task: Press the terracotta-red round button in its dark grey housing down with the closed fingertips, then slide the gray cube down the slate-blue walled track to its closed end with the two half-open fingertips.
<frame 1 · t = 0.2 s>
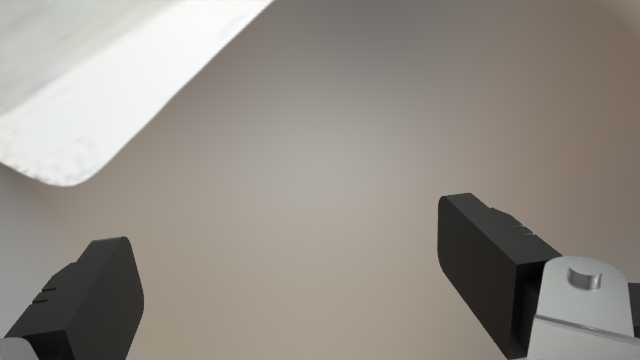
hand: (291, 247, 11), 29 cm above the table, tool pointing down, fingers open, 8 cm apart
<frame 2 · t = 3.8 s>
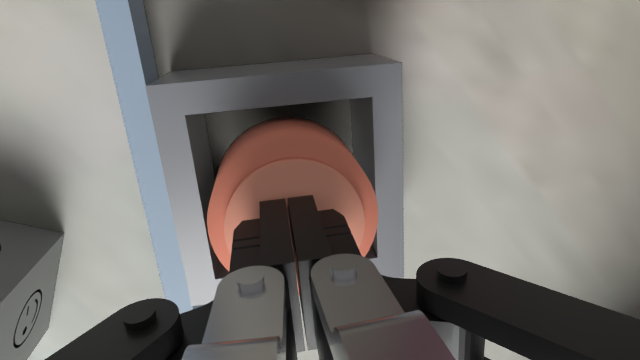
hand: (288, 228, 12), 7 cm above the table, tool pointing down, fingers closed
button housing: (283, 158, 19), on the table
button: (291, 205, 14), point 5 cm above the table, slide at 0.1 cm, touching gripper
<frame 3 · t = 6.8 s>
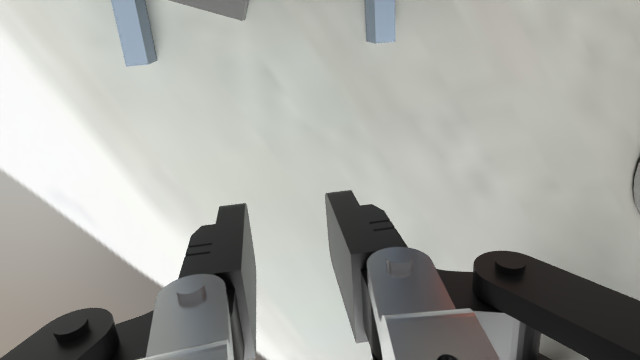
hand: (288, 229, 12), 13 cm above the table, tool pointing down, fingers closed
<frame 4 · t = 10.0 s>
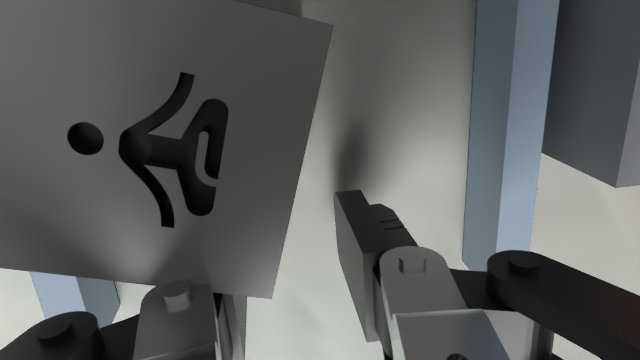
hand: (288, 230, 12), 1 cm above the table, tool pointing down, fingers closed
gray cube: (191, 95, 12), on the table, touching gripper
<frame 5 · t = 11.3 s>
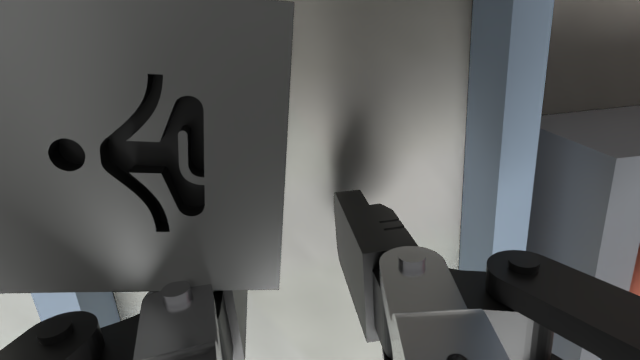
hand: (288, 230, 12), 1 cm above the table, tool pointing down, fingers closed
track: (283, 175, 13), on the table
button housing: (614, 222, 15), on the table
gray cube: (180, 99, 12), on the table, touching gripper
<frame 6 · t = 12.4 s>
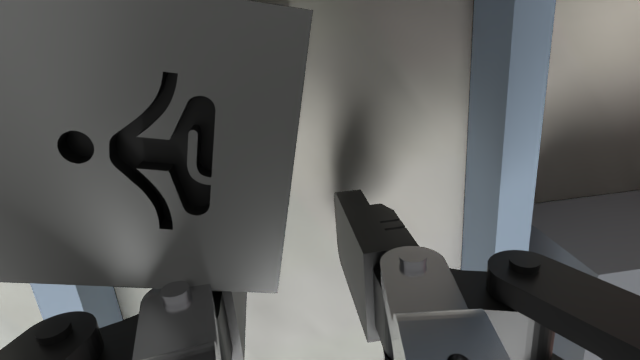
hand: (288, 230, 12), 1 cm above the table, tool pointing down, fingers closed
track: (295, 263, 14), on the table
button housing: (604, 293, 16), on the table
gray cube: (185, 97, 12), on the table, touching gripper
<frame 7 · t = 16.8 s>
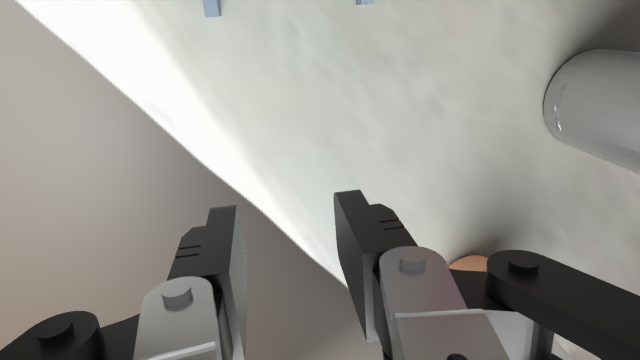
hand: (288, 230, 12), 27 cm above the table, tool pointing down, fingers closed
pepper shaker: (468, 283, 48), on the table
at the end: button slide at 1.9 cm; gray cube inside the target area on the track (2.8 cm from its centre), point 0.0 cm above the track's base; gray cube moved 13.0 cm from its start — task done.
